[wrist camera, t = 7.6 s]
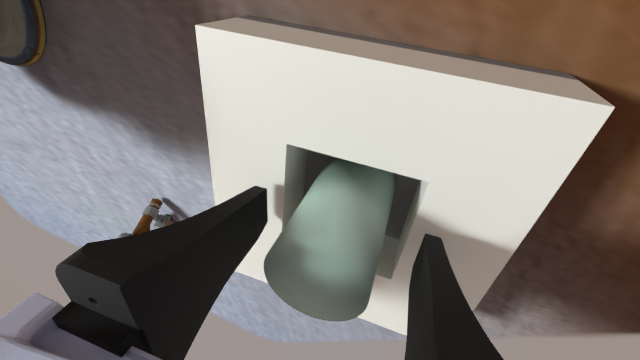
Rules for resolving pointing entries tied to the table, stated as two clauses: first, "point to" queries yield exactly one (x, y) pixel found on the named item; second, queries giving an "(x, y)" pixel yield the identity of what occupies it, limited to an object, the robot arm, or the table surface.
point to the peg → (333, 242)
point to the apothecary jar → (21, 32)
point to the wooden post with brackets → (150, 219)
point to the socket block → (392, 141)
